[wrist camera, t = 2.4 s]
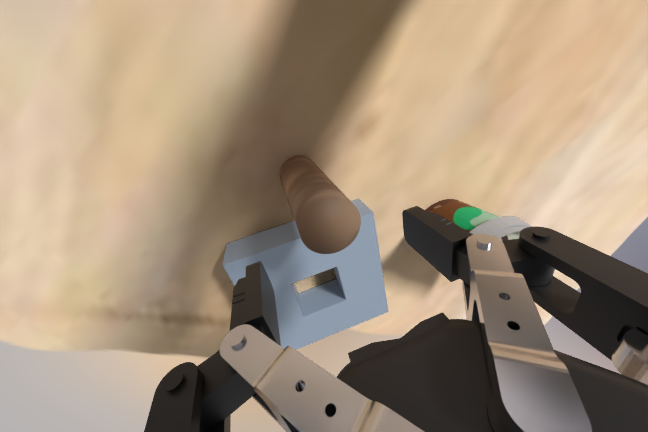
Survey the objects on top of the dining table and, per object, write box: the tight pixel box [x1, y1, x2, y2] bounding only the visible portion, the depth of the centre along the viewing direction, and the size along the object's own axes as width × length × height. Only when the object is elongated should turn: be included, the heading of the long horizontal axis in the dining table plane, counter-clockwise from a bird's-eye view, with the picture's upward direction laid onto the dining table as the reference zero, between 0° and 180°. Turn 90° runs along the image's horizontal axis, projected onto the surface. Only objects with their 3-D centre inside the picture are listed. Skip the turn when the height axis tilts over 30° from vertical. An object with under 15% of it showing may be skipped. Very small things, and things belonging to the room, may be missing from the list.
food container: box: [425, 199, 532, 241], centre depth 29 cm, size 12×6×10 cm, turn 60°
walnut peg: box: [280, 156, 361, 254], centre depth 20 cm, size 4×4×12 cm
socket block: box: [222, 199, 388, 350], centre depth 30 cm, size 16×16×4 cm
